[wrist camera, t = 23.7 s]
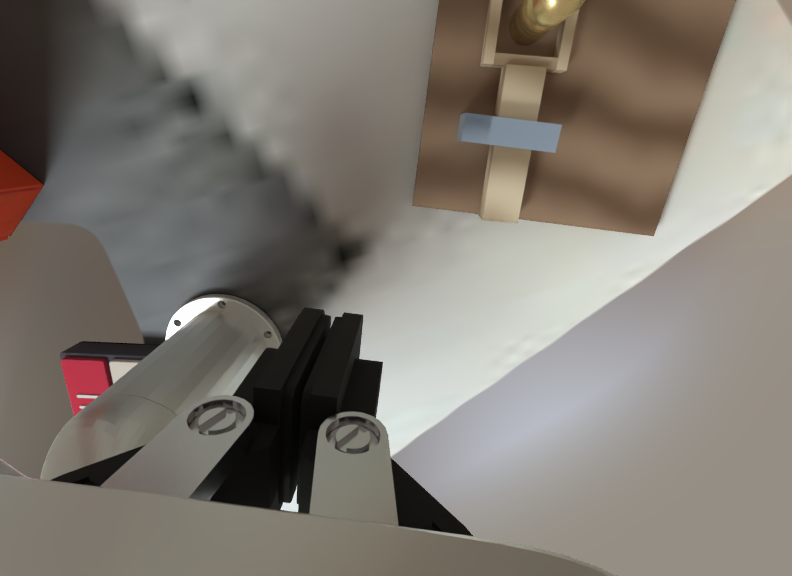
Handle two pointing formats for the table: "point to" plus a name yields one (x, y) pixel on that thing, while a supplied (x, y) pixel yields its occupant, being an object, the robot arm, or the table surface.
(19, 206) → the file binder
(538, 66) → the link
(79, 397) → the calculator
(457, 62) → the base plate
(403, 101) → the table surface
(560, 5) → the pin
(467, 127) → the bracket
